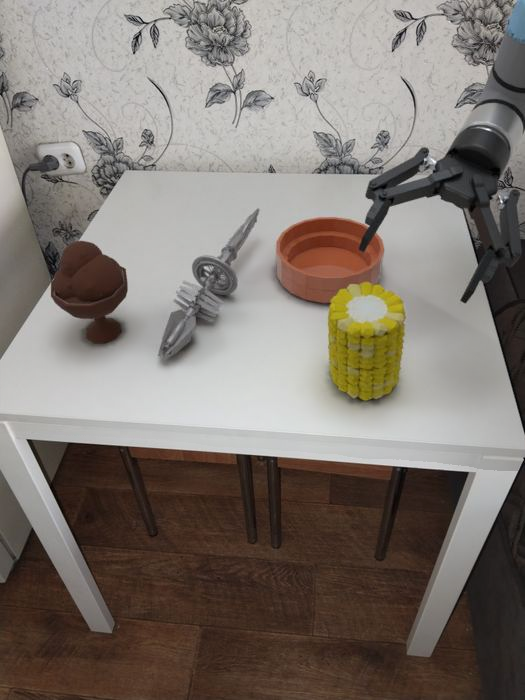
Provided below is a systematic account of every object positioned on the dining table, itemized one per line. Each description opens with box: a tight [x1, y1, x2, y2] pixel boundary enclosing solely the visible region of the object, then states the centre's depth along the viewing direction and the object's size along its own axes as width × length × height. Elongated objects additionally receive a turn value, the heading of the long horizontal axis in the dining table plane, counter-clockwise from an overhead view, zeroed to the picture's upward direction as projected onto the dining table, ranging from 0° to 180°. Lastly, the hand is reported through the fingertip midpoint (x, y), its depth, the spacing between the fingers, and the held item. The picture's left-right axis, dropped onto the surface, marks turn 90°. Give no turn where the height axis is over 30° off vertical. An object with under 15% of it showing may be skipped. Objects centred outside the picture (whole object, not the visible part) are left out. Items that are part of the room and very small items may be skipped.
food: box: [327, 282, 407, 402], centre depth 76 cm, size 15×12×10 cm
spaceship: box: [157, 208, 261, 361], centre depth 93 cm, size 8×35×8 cm
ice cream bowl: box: [50, 240, 129, 344], centre depth 85 cm, size 11×11×15 cm
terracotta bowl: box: [275, 216, 385, 304], centre depth 97 cm, size 17×17×6 cm
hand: (413, 270), depth 70 cm, fingers open, 13 cm apart
